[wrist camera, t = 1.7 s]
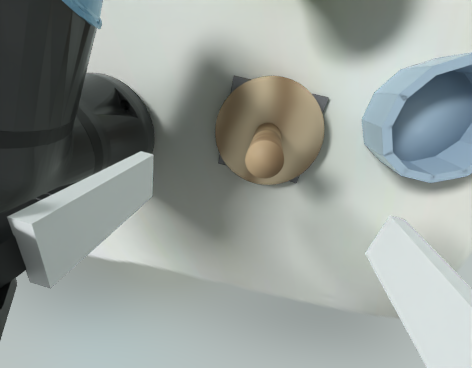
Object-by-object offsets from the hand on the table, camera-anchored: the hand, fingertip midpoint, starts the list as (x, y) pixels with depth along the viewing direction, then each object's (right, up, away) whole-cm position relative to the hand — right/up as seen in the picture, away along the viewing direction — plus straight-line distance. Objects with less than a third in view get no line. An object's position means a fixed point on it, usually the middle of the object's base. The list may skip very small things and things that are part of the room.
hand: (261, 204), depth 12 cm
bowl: (+21, +9, +14) cm, 26 cm away
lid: (+3, +8, +17) cm, 19 cm away
